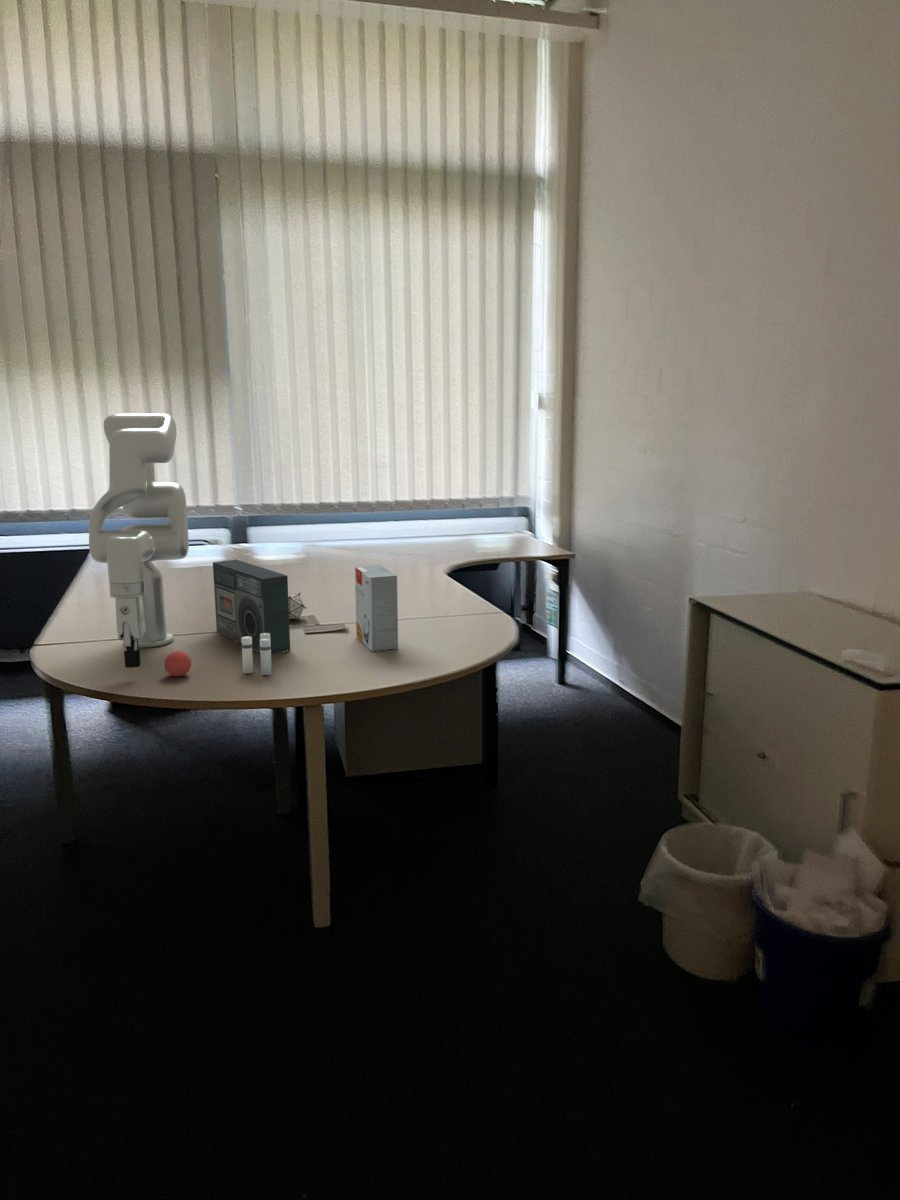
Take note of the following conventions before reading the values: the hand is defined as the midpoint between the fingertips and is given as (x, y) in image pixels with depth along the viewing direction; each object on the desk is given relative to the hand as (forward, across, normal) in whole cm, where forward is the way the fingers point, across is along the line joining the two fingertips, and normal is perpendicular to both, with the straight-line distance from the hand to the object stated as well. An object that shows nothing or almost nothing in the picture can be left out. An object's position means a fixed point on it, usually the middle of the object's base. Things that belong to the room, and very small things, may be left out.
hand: (133, 666), depth 207 cm
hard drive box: (+3, +20, -59) cm, 63 cm away
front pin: (+3, +1, -26) cm, 26 cm away
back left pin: (+3, +3, -30) cm, 31 cm away
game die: (+2, +50, -37) cm, 63 cm away
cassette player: (+3, +29, -26) cm, 39 cm away
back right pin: (+3, -2, -30) cm, 31 cm away
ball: (0, +1, -10) cm, 10 cm away
